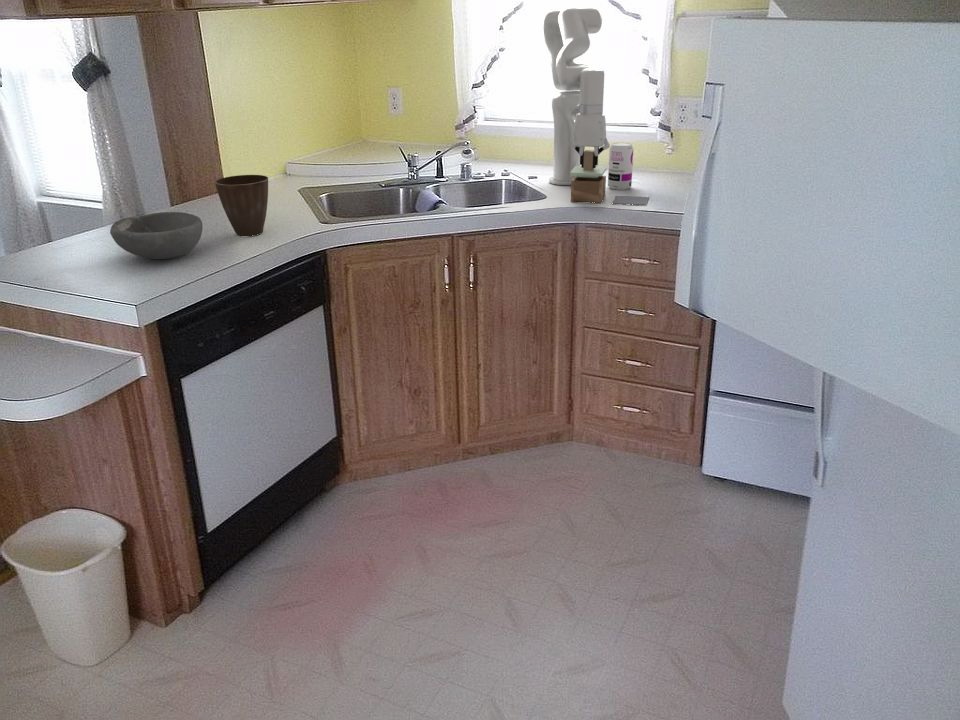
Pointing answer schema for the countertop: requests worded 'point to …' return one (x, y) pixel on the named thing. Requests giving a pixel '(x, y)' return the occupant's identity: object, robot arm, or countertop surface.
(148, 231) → the bowl
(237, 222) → the plant pot
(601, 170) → the lid
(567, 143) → the robot arm
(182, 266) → the countertop surface
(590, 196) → the tea box
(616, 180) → the supplement can
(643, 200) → the coaster
